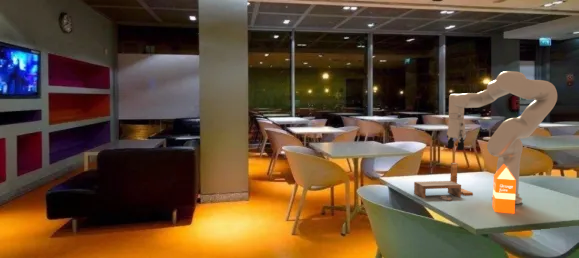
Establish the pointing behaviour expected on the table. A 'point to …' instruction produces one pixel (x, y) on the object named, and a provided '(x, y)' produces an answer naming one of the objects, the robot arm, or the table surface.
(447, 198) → the token
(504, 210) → the orange juice
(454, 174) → the brown l-shaped piece
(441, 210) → the table surface
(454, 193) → the wooden shelf stand
